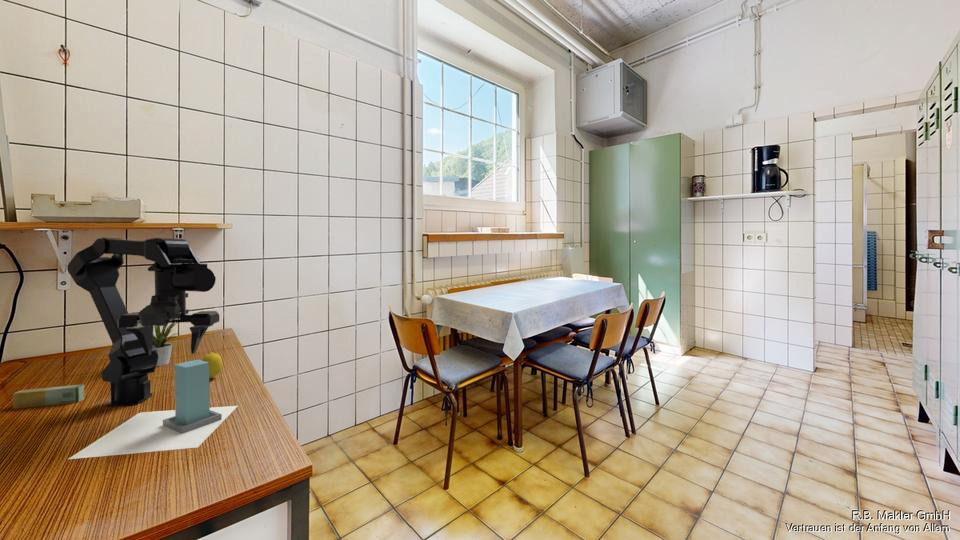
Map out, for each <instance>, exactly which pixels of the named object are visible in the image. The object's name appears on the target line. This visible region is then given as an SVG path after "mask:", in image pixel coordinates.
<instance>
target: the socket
mask: <svg viewBox="0 0 960 540" xmlns="http://www.w3.org/2000/svg"><path fill="white" fill-rule="evenodd" d="M219 420H222V414H220V413H217V412H214V411H212V410H210V417H209V418H206V419H203V420H200V421H197V422H194V423H191V424H188V425H186V426H182V425H179V424H177V423H175V422H176V418H175V416H174V417H170V418H167V419H164V420H163V426H165V427H168V428H170V429H172V430H174V431H177V432H179V433H181V434H183V433H185V432H188V431H191V430H194V429H197V428H199V427H202V426H205V425H208V424H210V423H213V422H216V421H219Z"/></svg>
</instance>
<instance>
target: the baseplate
mask: <svg viewBox="0 0 960 540" xmlns="http://www.w3.org/2000/svg"><path fill="white" fill-rule="evenodd" d="M237 408H238V405H230V406H213V407H209V409H210V410H212V411H214V412H217V413H220V414H222V420H219V421H216V422H213V423H210V424H208V425H205V426H202V427H199V428H197V429H194V430H191V431H188V432H185V433H183V434H181V433H179V432H177V431H174V430H172V429H170V428H168V427H165V426H163V420H164V419H167V418H170V417H174V416H175V409H170V410H157V411H156V410H155V411H143V412H138V413H136V414H135V415H134V416H132V417H130V418H129V419H127V420H126V421H125V422H123V423H122V424H120V425H118V426H116V427H115V428H114V429H112V430H110V431H109V432H108V433H106V434H104V435H103V436H101V437H100V438H98V439H96V440H95V441H93V442H92V443H91V444H89V445H87V446H86V447H84V448H83V449H81V450H80V451H78V452H77V453H76V454H74V455H72V456H70V457H69V458H67V460H76V459H87V458H98V457H99V458H101V457H108V456H110V457H111V456H121V455H132V454H133V455H135V454H141V453H143V454H144V453H154V452H164V451H166V452H167V451H176V450H184V449H185V450H187V449H196V448H197V449H198V448H199V447H200V446H201V444H203V443H204V442H205V441H206V440H207V438H208V437H209V436H211V434H212V433H213V432H214V431H215V430H216V429H217V428H218V427H219V426H221V424H222V423H223V422H224V421H225V420H226V419H227V418H228V417H229V416H230V415H232V413H233V412H234V410H236V409H237ZM175 423H176V422H175Z"/></svg>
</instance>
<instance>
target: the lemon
mask: <svg viewBox="0 0 960 540" xmlns="http://www.w3.org/2000/svg"><path fill="white" fill-rule="evenodd" d="M201 360H202V361H205V362H209V379H210V378H212V379H213V378H215V377H216V376H218V375H220V373H221V371H222V370H223V364H224V363H223V360H222V357H221V355H219V354H218V353H215V352H213V351H211V352H209V353H207V354H205V355H204V356H203V357H202V358H201Z"/></svg>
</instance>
